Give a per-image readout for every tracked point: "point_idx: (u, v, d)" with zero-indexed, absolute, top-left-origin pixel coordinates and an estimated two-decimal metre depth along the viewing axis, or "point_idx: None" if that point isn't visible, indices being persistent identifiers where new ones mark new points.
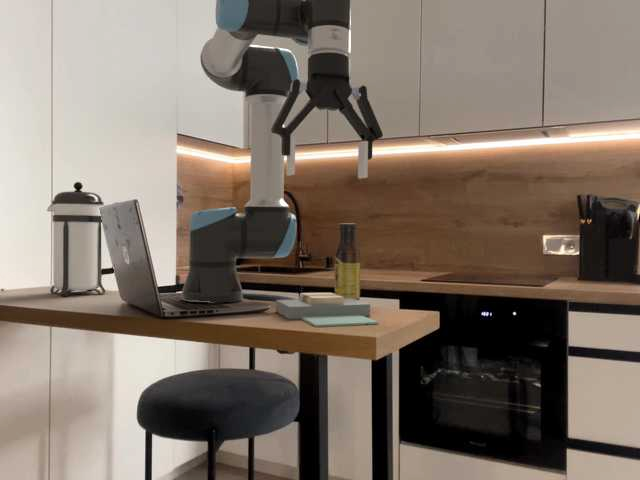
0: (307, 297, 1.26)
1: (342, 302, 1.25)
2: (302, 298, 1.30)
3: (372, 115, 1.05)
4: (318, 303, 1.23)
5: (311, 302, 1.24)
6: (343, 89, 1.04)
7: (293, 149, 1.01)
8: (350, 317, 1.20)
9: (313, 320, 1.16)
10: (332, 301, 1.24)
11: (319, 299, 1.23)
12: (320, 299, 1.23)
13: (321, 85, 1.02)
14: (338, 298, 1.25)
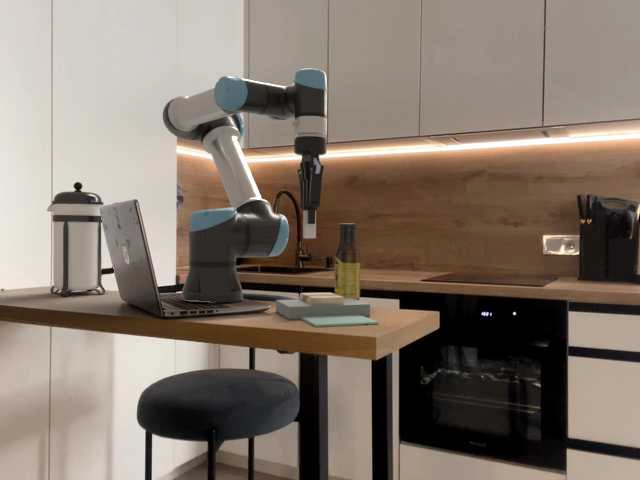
0: (307, 297, 1.26)
1: (342, 302, 1.25)
2: (302, 298, 1.30)
3: (310, 188, 1.33)
4: (318, 303, 1.23)
5: (311, 302, 1.24)
6: (308, 159, 1.34)
7: (303, 219, 1.37)
8: (350, 317, 1.20)
9: (313, 320, 1.16)
10: (332, 301, 1.24)
11: (319, 299, 1.23)
12: (320, 299, 1.23)
13: (302, 158, 1.38)
14: (338, 298, 1.25)
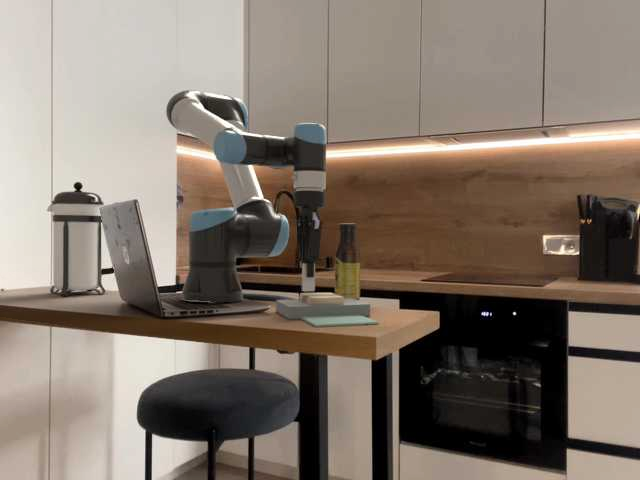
0: (307, 297, 1.26)
1: (342, 302, 1.25)
2: (302, 298, 1.30)
3: (309, 243, 1.33)
4: (318, 303, 1.23)
5: (311, 302, 1.24)
6: (307, 213, 1.34)
7: (302, 272, 1.37)
8: (350, 317, 1.20)
9: (313, 320, 1.16)
10: (332, 301, 1.24)
11: (319, 299, 1.23)
12: (320, 299, 1.23)
13: (302, 210, 1.39)
14: (338, 298, 1.25)
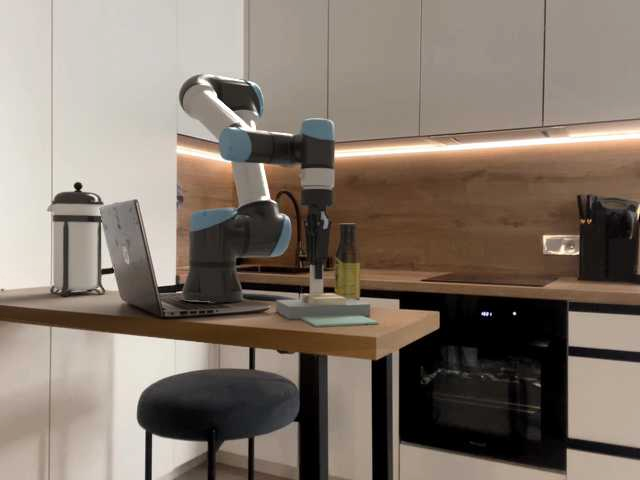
0: (309, 298, 1.25)
1: (344, 303, 1.24)
2: (304, 299, 1.29)
3: (317, 243, 1.27)
4: (320, 304, 1.22)
5: (313, 303, 1.22)
6: (316, 212, 1.29)
7: (310, 274, 1.32)
8: (350, 317, 1.20)
9: (313, 320, 1.16)
10: (334, 302, 1.23)
11: (321, 300, 1.22)
12: (322, 300, 1.22)
13: (309, 209, 1.33)
14: (340, 299, 1.23)
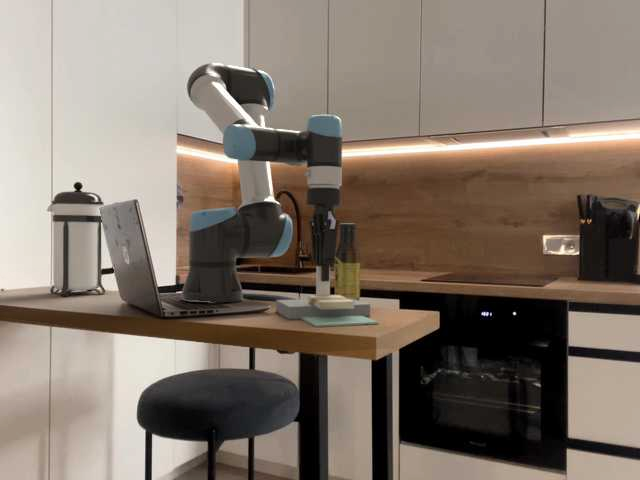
0: (316, 301, 1.21)
1: (352, 306, 1.19)
2: (310, 301, 1.24)
3: (324, 244, 1.23)
4: (327, 307, 1.18)
5: (320, 306, 1.18)
6: (322, 212, 1.24)
7: (316, 276, 1.27)
8: (350, 317, 1.20)
9: (313, 320, 1.16)
10: (342, 306, 1.19)
11: (328, 303, 1.18)
12: (329, 303, 1.18)
13: (315, 209, 1.29)
14: (348, 302, 1.19)
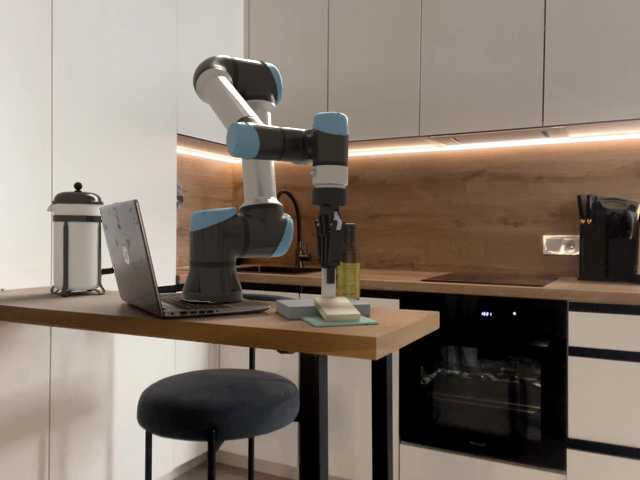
0: (321, 309, 1.17)
1: (358, 319, 1.16)
2: (315, 305, 1.21)
3: (330, 246, 1.19)
4: (333, 320, 1.14)
5: (325, 318, 1.15)
6: (328, 212, 1.21)
7: (322, 278, 1.24)
8: None
9: (313, 320, 1.16)
10: (348, 318, 1.15)
11: (334, 316, 1.14)
12: (335, 316, 1.14)
13: (321, 209, 1.25)
14: (354, 315, 1.16)
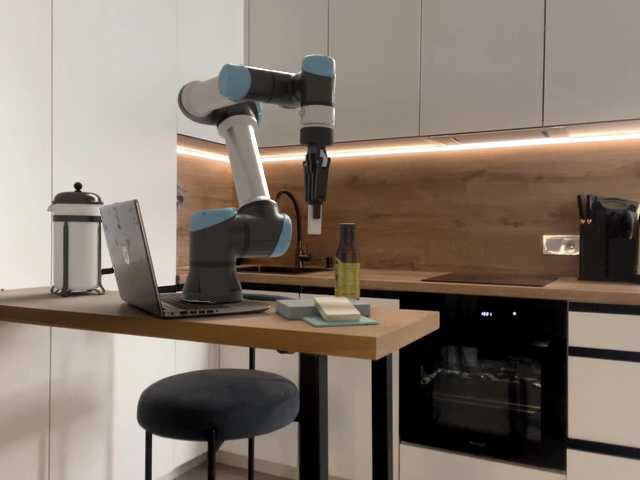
0: (321, 309, 1.17)
1: (358, 319, 1.16)
2: (315, 304, 1.21)
3: (316, 182, 1.26)
4: (333, 320, 1.14)
5: (325, 318, 1.15)
6: (315, 150, 1.27)
7: (308, 214, 1.30)
8: None
9: (313, 320, 1.16)
10: (348, 318, 1.15)
11: (334, 316, 1.14)
12: (335, 316, 1.14)
13: (308, 149, 1.32)
14: (354, 315, 1.16)
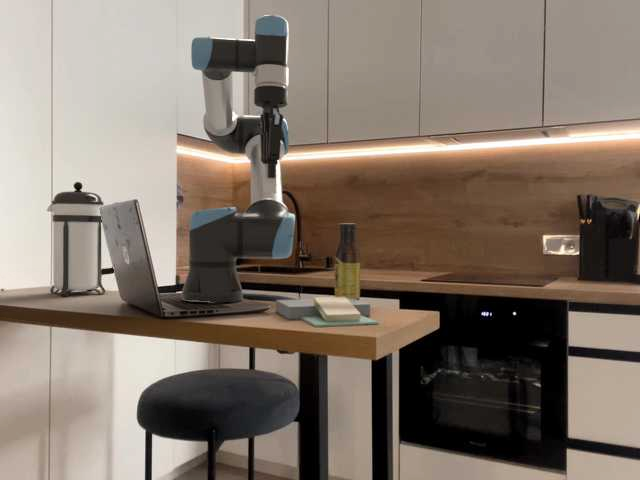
0: (321, 309, 1.17)
1: (358, 319, 1.16)
2: (315, 304, 1.21)
3: (269, 139, 1.27)
4: (333, 320, 1.14)
5: (325, 318, 1.15)
6: (268, 109, 1.29)
7: (263, 174, 1.32)
8: None
9: (313, 320, 1.16)
10: (348, 318, 1.15)
11: (334, 316, 1.14)
12: (335, 316, 1.14)
13: (263, 110, 1.33)
14: (354, 315, 1.16)
